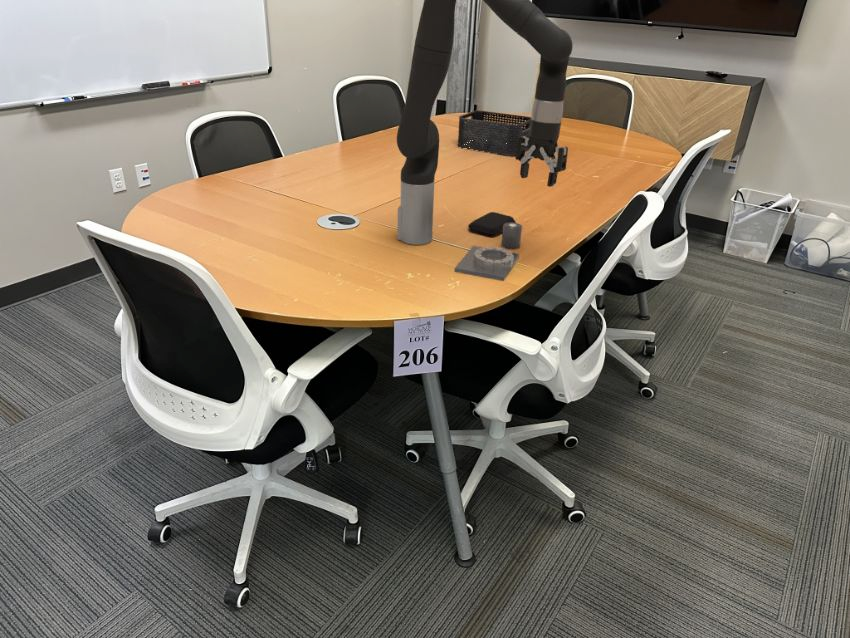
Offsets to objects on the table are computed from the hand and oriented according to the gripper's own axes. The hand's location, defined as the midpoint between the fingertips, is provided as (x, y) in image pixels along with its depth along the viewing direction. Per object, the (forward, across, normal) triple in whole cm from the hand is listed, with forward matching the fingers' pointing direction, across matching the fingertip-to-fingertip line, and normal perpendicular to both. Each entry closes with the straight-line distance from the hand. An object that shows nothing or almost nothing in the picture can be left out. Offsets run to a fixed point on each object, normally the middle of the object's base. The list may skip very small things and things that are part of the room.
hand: (537, 181), depth 160 cm
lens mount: (+20, -2, -15) cm, 25 cm away
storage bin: (+21, -80, +81) cm, 116 cm away
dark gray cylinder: (+20, -6, 0) cm, 21 cm away
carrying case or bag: (+21, -18, +6) cm, 28 cm away
